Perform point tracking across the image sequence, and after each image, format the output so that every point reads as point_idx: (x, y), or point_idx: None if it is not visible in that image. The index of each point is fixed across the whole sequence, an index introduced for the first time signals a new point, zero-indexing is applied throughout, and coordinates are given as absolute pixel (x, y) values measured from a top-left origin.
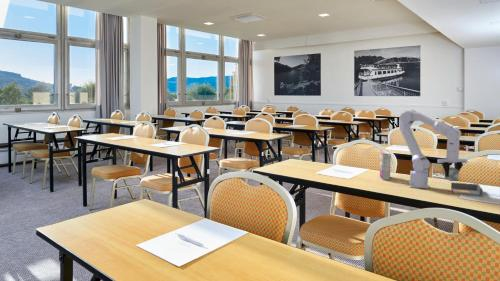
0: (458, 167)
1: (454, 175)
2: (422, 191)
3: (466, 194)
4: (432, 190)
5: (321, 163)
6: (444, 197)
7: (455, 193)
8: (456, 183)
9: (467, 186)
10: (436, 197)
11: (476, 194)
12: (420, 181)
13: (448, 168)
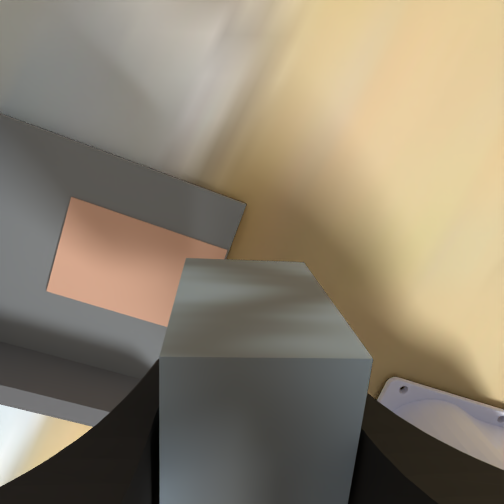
0: (123, 467)
1: (254, 295)
2: (486, 294)
3: (128, 160)
4: (379, 328)
5: None
6: (403, 74)
7: (229, 197)
8: None
9: (18, 368)
10: (481, 77)
11: (16, 153)
12: (488, 442)
13: (394, 443)
